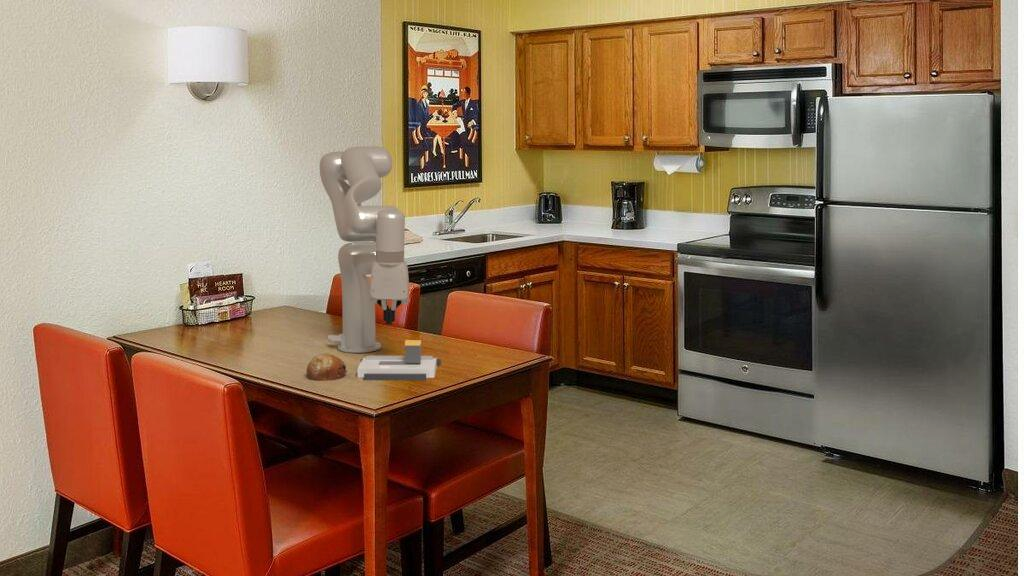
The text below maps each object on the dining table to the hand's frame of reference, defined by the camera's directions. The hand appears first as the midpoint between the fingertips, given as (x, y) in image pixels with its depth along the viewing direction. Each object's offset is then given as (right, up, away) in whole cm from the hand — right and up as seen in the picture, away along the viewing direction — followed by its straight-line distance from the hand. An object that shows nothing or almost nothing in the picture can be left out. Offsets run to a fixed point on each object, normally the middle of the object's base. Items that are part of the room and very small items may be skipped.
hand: (389, 323), depth 261 cm
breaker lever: (+7, -10, -2) cm, 12 cm away
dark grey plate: (+3, -13, -2) cm, 13 cm away
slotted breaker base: (+3, -13, -2) cm, 13 cm away
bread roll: (-15, -14, -7) cm, 22 cm away
